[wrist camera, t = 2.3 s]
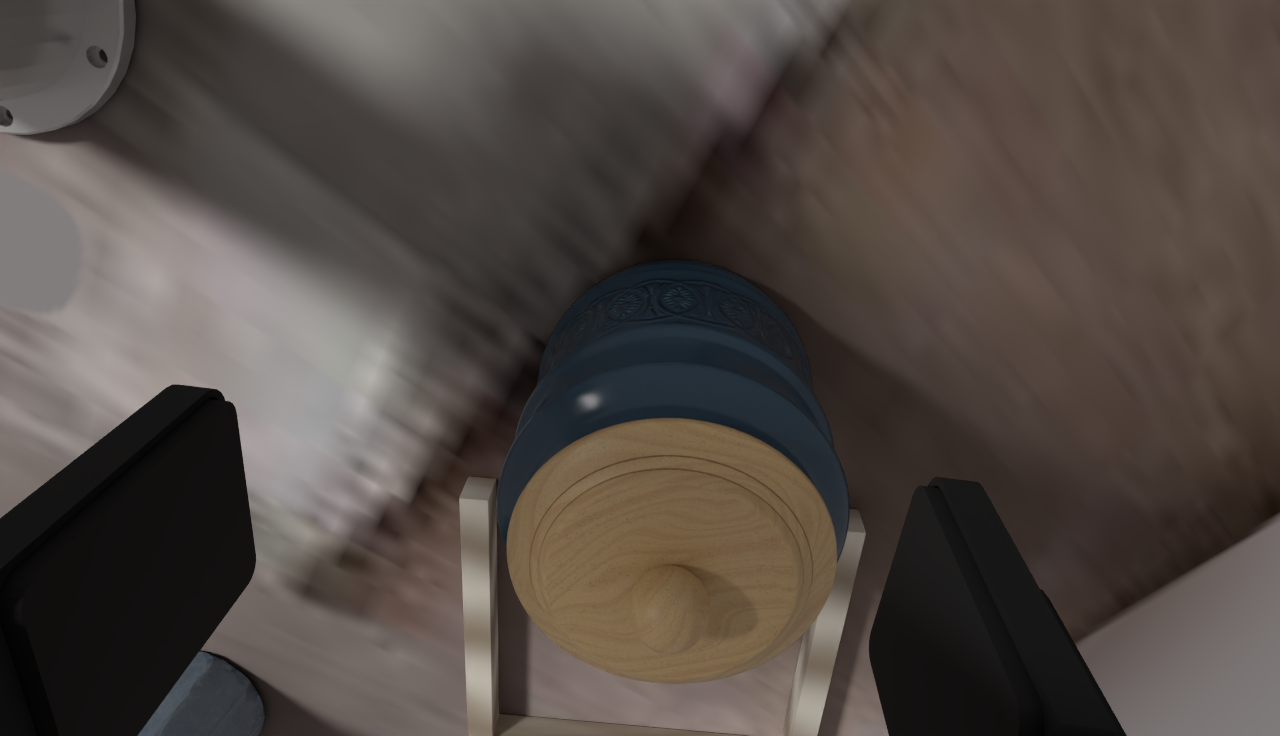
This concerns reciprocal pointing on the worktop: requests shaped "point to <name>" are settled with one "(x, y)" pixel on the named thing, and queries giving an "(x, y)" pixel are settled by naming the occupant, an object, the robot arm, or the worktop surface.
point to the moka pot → (208, 703)
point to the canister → (673, 479)
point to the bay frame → (513, 732)
